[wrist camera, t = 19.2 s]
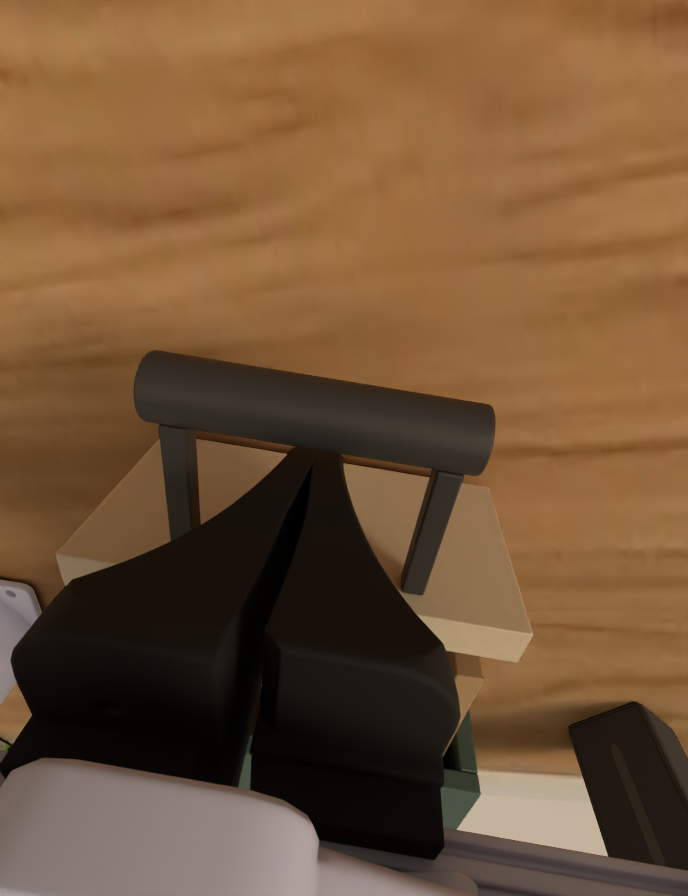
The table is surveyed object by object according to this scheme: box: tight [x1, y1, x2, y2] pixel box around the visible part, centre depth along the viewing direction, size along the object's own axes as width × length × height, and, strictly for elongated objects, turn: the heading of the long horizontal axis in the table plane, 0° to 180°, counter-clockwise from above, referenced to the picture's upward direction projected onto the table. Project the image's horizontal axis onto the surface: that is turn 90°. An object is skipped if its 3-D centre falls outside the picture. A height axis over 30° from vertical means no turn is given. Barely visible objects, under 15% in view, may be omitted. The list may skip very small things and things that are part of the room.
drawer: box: [55, 350, 533, 756], centre depth 16 cm, size 19×12×6 cm, turn 172°
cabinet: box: [238, 709, 481, 830], centre depth 21 cm, size 14×13×8 cm
